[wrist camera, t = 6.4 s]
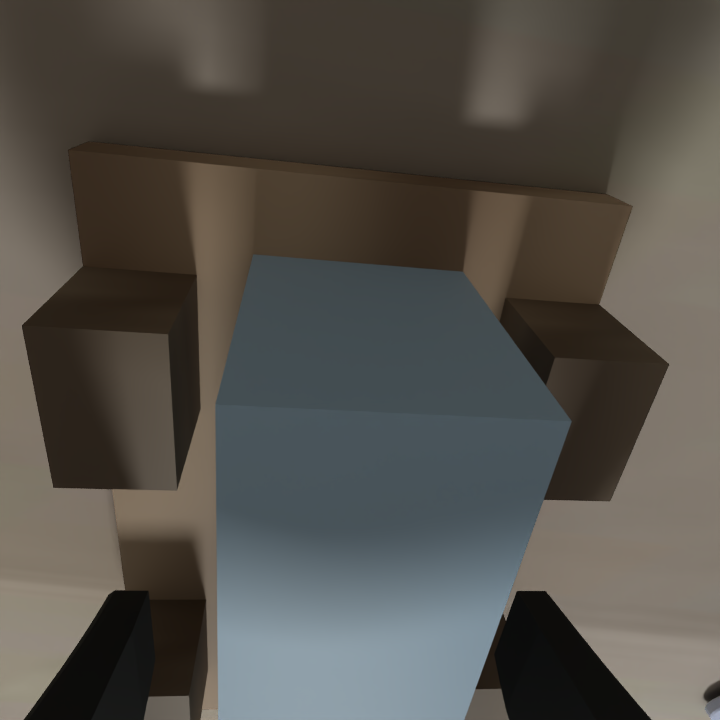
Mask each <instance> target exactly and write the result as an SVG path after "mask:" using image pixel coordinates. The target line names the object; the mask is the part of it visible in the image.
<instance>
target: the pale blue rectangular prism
mask: <svg viewBox="0 0 720 720" xmlns="http://www.w3.org/2000/svg"><path fill="white" fill-rule="evenodd" d="M571 422H572V421H571V420H570V418H569V417H568V416H567V414H566V413H565V411H564V410H563V409H562V407H561V406H560V405H559V403H558V402H557V400H556V399H555V398H554V396H553V395H552V394H551V392H550V391H549V389H548V388H547V387H546V385H545V384H544V383H543V381H542V380H541V378H540V377H539V376H538V374H537V373H536V372H535V370H534V369H533V367H532V366H531V365H530V363H529V362H528V361H527V359H526V358H525V356H524V355H523V354H522V352H521V351H520V349H519V348H518V347H517V345H516V344H515V343H514V341H513V340H512V338H511V337H510V336H509V334H508V333H507V332H506V330H505V329H504V327H503V326H502V325H501V323H500V322H499V321H498V319H497V318H496V316H495V315H494V314H493V312H492V311H491V310H490V308H489V307H488V305H487V304H486V303H485V301H484V300H483V299H482V297H481V296H480V294H479V293H478V292H477V290H476V289H475V288H474V286H473V285H472V283H471V282H470V281H469V279H468V278H467V277H466V275H465V274H464V272H460V271H448V270H435V269H423V268H411V267H399V266H387V265H375V264H363V263H351V262H339V261H327V260H315V259H303V258H291V257H279V256H267V255H255V254H253V257H252V261H251V265H250V269H249V273H248V277H247V281H246V285H245V289H244V293H243V297H242V301H241V305H240V309H239V313H238V317H237V321H236V325H235V329H234V332H233V336H232V340H231V344H230V348H229V352H228V356H227V360H226V364H225V368H224V372H223V376H222V380H221V384H220V388H219V392H218V396H217V400H216V404H215V425H216V532H217V639H218V720H464V719H465V716H466V714H467V711H468V708H469V705H470V703H471V700H472V697H473V694H474V691H475V689H476V686H477V683H478V680H479V678H480V675H481V672H482V669H483V666H484V664H485V661H486V658H487V655H488V653H489V650H490V647H491V644H492V641H493V639H494V636H495V633H496V630H497V628H498V625H499V622H500V619H501V616H502V614H503V611H504V608H505V605H506V603H507V600H508V597H509V594H510V591H511V589H512V586H513V583H514V580H515V578H516V575H517V572H518V569H519V566H520V564H521V561H522V558H523V555H524V553H525V550H526V547H527V544H528V541H529V539H530V536H531V533H532V530H533V528H534V525H535V522H536V519H537V516H538V514H539V511H540V508H541V505H542V503H543V500H544V497H545V494H546V491H547V489H548V486H549V483H550V480H551V478H552V475H553V472H554V469H555V466H556V464H557V461H558V458H559V455H560V452H561V450H562V447H563V444H564V441H565V439H566V436H567V433H568V430H569V427H570V425H571Z"/></svg>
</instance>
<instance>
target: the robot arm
mask: <svg viewBox="0 0 720 720" xmlns="http://www.w3.org/2000/svg"><path fill="white" fill-rule="evenodd" d="M494 656H495V661H496V666H497V671H498V676H499V681H500V686H501V690H502V695H503V699H504V703H505V708H506V712H507V715H508V718H509V720H651V719H650V717H649V716H648V715H647V714H646V713H645V712H644V711H643V709H642V708H641V707H640V706H639V705H638V704H637V702H636V701H635V700H634V699H633V698H632V697H631V695H630V694H629V693H628V692H627V691H626V690H625V688H624V687H623V686H622V685H621V684H620V682H619V681H618V680H617V679H616V678H615V677H614V675H613V674H612V673H611V672H610V671H609V669H608V668H607V667H606V666H605V664H604V663H603V662H602V661H601V660H600V658H599V657H598V656H597V655H596V653H595V652H594V651H593V650H592V648H591V647H590V646H589V645H588V644H587V642H586V641H585V640H584V639H583V637H582V636H581V635H580V634H579V632H578V631H577V630H576V629H575V627H574V626H573V625H572V623H571V622H570V621H569V620H568V618H567V617H566V616H565V615H564V613H563V612H562V611H561V610H560V608H559V607H558V606H557V605H556V603H555V602H554V601H553V600H552V598H551V597H550V596H549V595H548V594H547V592H546V591H517V592H516V595H515V598H514V601H513V604H512V606H511V609H510V612H509V615H508V617H507V620H506V623H505V626H504V628H503V631H502V634H501V637H500V639H499V642H498V645H497V648H496V650H495V653H494ZM154 664H155V649H154V639H153V629H152V619H151V609H150V599H149V591H125V590H115V591H113V592H112V593H110V594H109V595H108V597H107V598H106V600H105V602H104V603H103V605H102V607H101V608H100V610H99V612H98V613H97V615H96V616H95V618H94V620H93V621H92V623H91V624H90V626H89V628H88V629H87V631H86V632H85V634H84V635H83V637H82V638H81V640H80V641H79V643H78V644H77V646H76V647H75V649H74V650H73V652H72V653H71V655H70V656H69V658H68V659H67V660H66V662H65V663H64V665H63V666H62V668H61V669H60V671H59V672H58V673H57V675H56V676H55V678H54V679H53V680H52V682H51V683H50V684H49V686H48V687H47V689H46V690H45V691H44V693H43V694H42V696H41V697H40V698H39V700H38V701H37V702H36V704H35V705H34V707H33V708H32V709H31V711H30V712H29V713H28V715H27V716H26V717H25V719H24V720H144V716H145V711H146V706H147V701H148V696H149V691H150V686H151V680H152V675H153V670H154ZM705 710H706V712H707V714H708V715H709V717H710V719H711V720H720V696H718V697H716V698H714V699H713V700H711V701H709V702H708V703H707V704H706V707H705Z"/></svg>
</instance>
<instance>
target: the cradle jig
mask: <svg viewBox="0 0 720 720" xmlns="http://www.w3.org/2000/svg"><path fill="white" fill-rule="evenodd" d="M68 154H69V161H70V169H71V177H72V185H73V192H74V200H75V208H76V215H77V223H78V231H79V238H80V246H81V254H82V261H83V267H82V268H81V269H80V270H79V271H78V272H77V273H76V274H75V275H74V276H73V277H72V278H71V279H70V280H69V281H67V282H66V283H65V284H64V285H63V286H62V287H61V288H60V289H59V290H58V291H57V292H56V293H55V294H54V295H53V296H52V297H51V298H50V299H49V300H48V301H47V302H46V303H45V304H44V305H43V306H42V307H41V308H40V309H38V310H37V311H36V312H35V313H34V314H33V315H32V316H31V317H30V318H29V319H28V320H27V321H26V322H25V323H24V324H23V325H22V329H23V334H24V339H25V344H26V350H27V355H28V360H29V365H30V370H31V375H32V380H33V385H34V391H35V396H36V401H37V406H38V411H39V416H40V421H41V426H42V432H43V437H44V442H45V447H46V452H47V457H48V462H49V467H50V472H51V478H52V483H53V488H86V489H112V492H113V500H114V508H115V515H116V523H117V531H118V538H119V546H120V554H121V561H122V569H123V577H124V584H125V591H149V599H150V609H151V619H152V629H153V639H154V649H155V664H154V670H153V675H152V680H151V686H150V691H149V696H148V701H147V706H146V711H145V716H144V720H200V718H201V712H202V710H206V709H218V639H217V532H216V425H215V404H216V400H217V396H218V392H219V388H220V384H221V380H222V376H223V372H224V368H225V364H226V360H227V356H228V352H229V348H230V344H231V340H232V336H233V332H234V329H235V325H236V321H237V317H238V313H239V309H240V305H241V301H242V297H243V293H244V289H245V285H246V281H247V277H248V273H249V269H250V265H251V261H252V257H253V254H255V255H267V256H279V257H291V258H303V259H315V260H327V261H339V262H351V263H363V264H375V265H387V266H399V267H411V268H423V269H435V270H448V271H460V272H464V274H465V275H466V277H467V278H468V279H469V281H470V282H471V283H472V285H473V286H474V288H475V289H476V290H477V292H478V293H479V294H480V296H481V297H482V299H483V300H484V301H485V303H486V304H487V305H488V307H489V308H490V310H491V311H492V312H493V314H494V315H495V316H496V318H497V319H498V321H499V322H500V323H501V325H502V326H503V327H504V329H505V330H506V332H507V333H508V334H509V336H510V337H511V338H512V340H513V341H514V343H515V344H516V345H517V347H518V348H519V349H520V351H521V352H522V354H523V355H524V356H525V358H526V359H527V361H528V362H529V363H530V365H531V366H532V367H533V369H534V370H535V372H536V373H537V374H538V376H539V377H540V378H541V380H542V381H543V383H544V384H545V385H546V387H547V388H548V389H549V391H550V392H551V394H552V395H553V396H554V398H555V399H556V400H557V402H558V403H559V405H560V406H561V407H562V409H563V410H564V411H565V413H566V414H567V416H568V417H569V418H570V420H571V421H572V422H571V425H570V427H569V430H568V433H567V436H566V439H565V441H564V444H563V447H562V450H561V452H560V455H559V458H558V461H557V464H556V466H555V469H554V472H553V475H552V478H551V480H550V483H549V486H548V489H547V491H546V494H545V497H544V500H579V501H610V500H611V498H612V496H613V494H614V491H615V489H616V487H617V484H618V482H619V480H620V477H621V475H622V473H623V470H624V468H625V466H626V463H627V461H628V459H629V456H630V454H631V452H632V449H633V447H634V445H635V443H636V440H637V438H638V436H639V433H640V431H641V429H642V426H643V424H644V422H645V419H646V417H647V415H648V412H649V410H650V408H651V405H652V403H653V401H654V399H655V396H656V394H657V392H658V389H659V387H660V385H661V382H662V380H663V378H664V375H665V373H666V371H667V368H668V366H669V364H668V363H667V362H666V361H665V360H663V359H662V358H661V357H660V356H659V355H658V354H656V353H655V352H654V351H653V350H652V349H651V348H649V347H648V346H647V345H646V344H645V343H644V342H642V341H641V340H640V339H639V338H638V337H636V336H635V335H634V334H633V333H632V332H631V331H629V330H628V329H627V328H626V327H625V326H624V325H622V324H621V323H620V322H619V321H618V320H617V319H615V318H614V317H613V316H612V315H611V314H609V313H608V312H607V311H606V310H605V309H604V308H602V307H601V306H600V305H599V303H600V300H601V297H602V295H603V292H604V289H605V286H606V283H607V280H608V277H609V274H610V271H611V268H612V265H613V262H614V259H615V257H616V254H617V251H618V248H619V245H620V242H621V239H622V236H623V233H624V230H625V227H626V224H627V222H628V219H629V216H630V213H631V210H632V207H633V206H631V205H629V204H627V203H625V202H622V201H620V200H618V199H616V198H614V197H612V196H610V195H607V194H598V193H588V192H578V191H569V190H559V189H549V188H539V187H529V186H520V185H510V184H500V183H490V182H480V181H471V180H461V179H451V178H441V177H431V176H422V175H412V174H402V173H392V172H383V171H373V170H363V169H353V168H343V167H334V166H324V165H314V164H304V163H294V162H285V161H275V160H265V159H255V158H245V157H236V156H226V155H216V154H206V153H196V152H187V151H177V150H167V149H157V148H148V147H138V146H128V145H118V144H108V143H99V142H86V143H84V144H81V145H79V146H76V147H74V148H72V149H69V150H68ZM505 623H506V621H505V618H504V615H503V614H502V616H501V619H500V622H499V625H498V628H497V630H496V633H495V636H494V639H493V641H492V644H491V647H490V650H489V653H488V655H487V658H486V661H485V664H484V666H483V669H482V672H481V675H480V678H479V680H478V683H477V686H476V689H475V691H474V694H473V697H472V700H471V703H470V705H469V708H468V711H467V714H466V716H465V719H464V720H509V718H508V715H507V712H506V708H505V703H504V699H503V695H502V690H501V686H500V681H499V676H498V671H497V666H496V661H495V656H494V653H495V650H496V648H497V645H498V642H499V639H500V637H501V634H502V631H503V628H504V626H505Z"/></svg>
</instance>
